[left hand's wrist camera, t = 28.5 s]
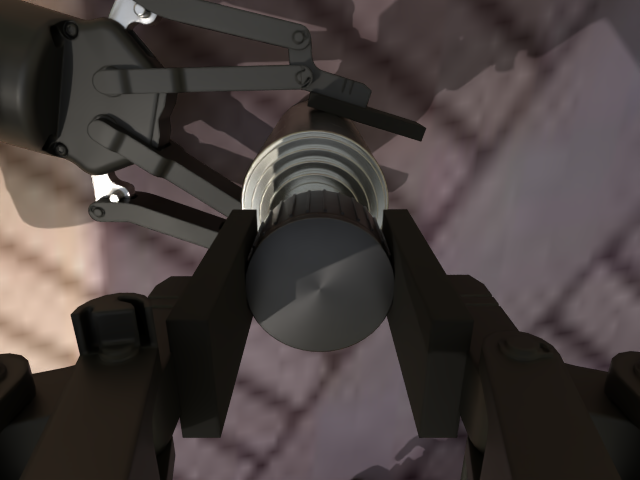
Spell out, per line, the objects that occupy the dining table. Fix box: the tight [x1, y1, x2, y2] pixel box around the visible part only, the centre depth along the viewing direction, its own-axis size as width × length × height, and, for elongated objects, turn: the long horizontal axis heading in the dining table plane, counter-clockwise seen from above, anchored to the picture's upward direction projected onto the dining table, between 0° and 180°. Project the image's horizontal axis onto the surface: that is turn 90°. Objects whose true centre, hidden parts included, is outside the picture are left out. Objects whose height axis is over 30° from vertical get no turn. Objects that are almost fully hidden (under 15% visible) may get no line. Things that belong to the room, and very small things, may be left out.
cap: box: [245, 189, 395, 352], centre depth 13 cm, size 4×4×3 cm
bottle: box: [241, 101, 389, 230], centre depth 23 cm, size 6×6×20 cm
